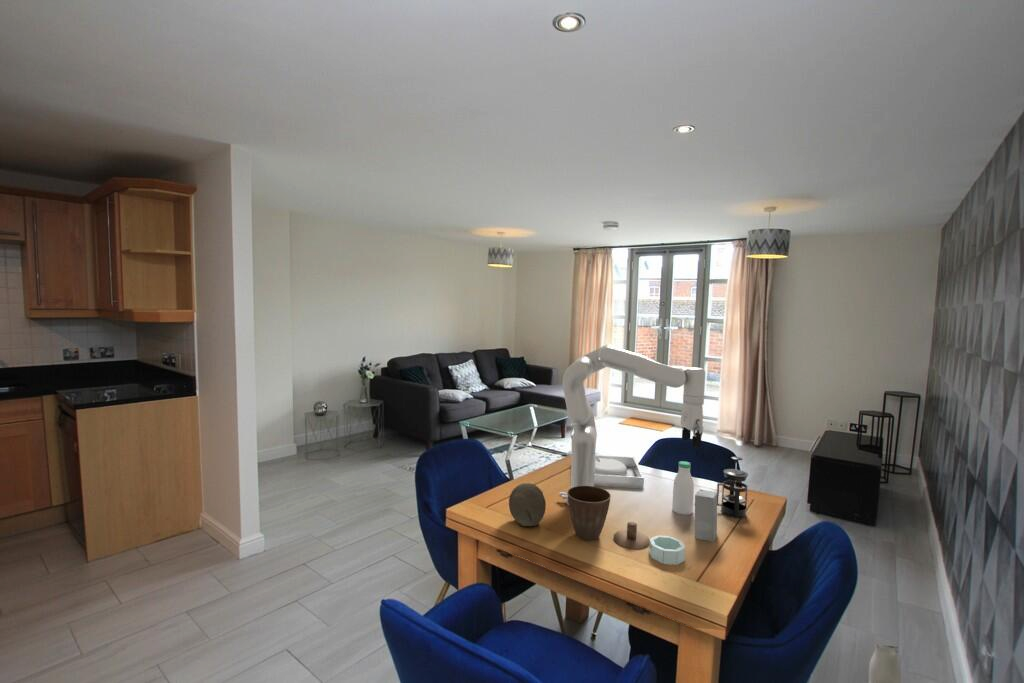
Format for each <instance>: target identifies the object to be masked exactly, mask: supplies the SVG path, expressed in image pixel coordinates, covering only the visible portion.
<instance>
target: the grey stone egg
mask: <svg viewBox="0 0 1024 683" xmlns="http://www.w3.org/2000/svg"><path fill="white" fill-rule="evenodd" d="M508 507H509V512H510V514H511V516H512V518H513V519H514V520H515V521H516V522H517V523H518V524H519V525H521V526H522V527H525V526H529V527H534V526H537V525H539V524H540V523H541V521H542V520H543V518H544V516H545V513H546V507H547V504H546V498H545V496H544V494H543V491H542V489H541V488H539V486H537V485H536V484H534V483H528V482H525V483H520V484H518V485H516V486H515V487H514V488H513V490H512V491H511V493H510V495H509V498H508Z"/></svg>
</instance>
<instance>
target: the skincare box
mask: <svg viewBox="0 0 1024 683" xmlns="http://www.w3.org/2000/svg"><path fill="white" fill-rule="evenodd" d="M717 533H718V506H717V491H712V490H705V489H701V488H700V489H698V491H696V494H695V495H694V538H695V539H698V540H704V541H707V542H711V543H714V542H715V539H716V537H717Z"/></svg>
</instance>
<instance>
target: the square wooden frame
mask: <svg viewBox="0 0 1024 683" xmlns="http://www.w3.org/2000/svg"><path fill="white" fill-rule="evenodd" d="M597 458H608V459H613V460H617V461H620V462H622V463H623V464H624V465H625V466H626V468H632V469H633V471H634V474H635V476H630V475H629V476H614V475H597V474H595V478H594V486H596V487H598V486H599V487H615V488H630V489H632V488H633V489H644V484H645V477H644V474H643V473H642V470H641V468H640V467H639V464H638V462H637V460H636V458H635V457H634V456H619V455H616V456H615V455H603V454H602V455H601V454H595V459H597Z"/></svg>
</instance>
